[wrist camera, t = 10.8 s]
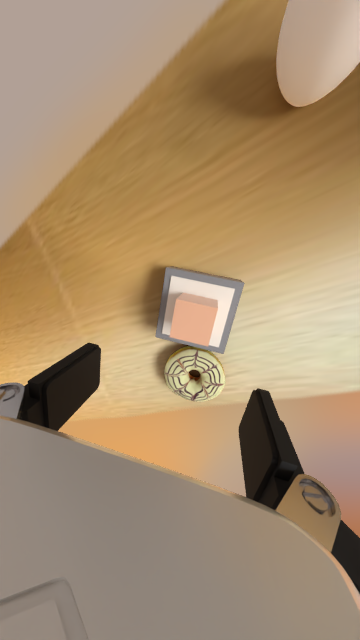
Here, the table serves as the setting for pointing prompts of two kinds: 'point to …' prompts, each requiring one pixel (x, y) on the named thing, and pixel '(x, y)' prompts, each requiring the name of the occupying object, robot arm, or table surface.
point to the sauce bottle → (317, 48)
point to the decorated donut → (194, 386)
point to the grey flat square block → (203, 286)
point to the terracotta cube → (194, 318)
